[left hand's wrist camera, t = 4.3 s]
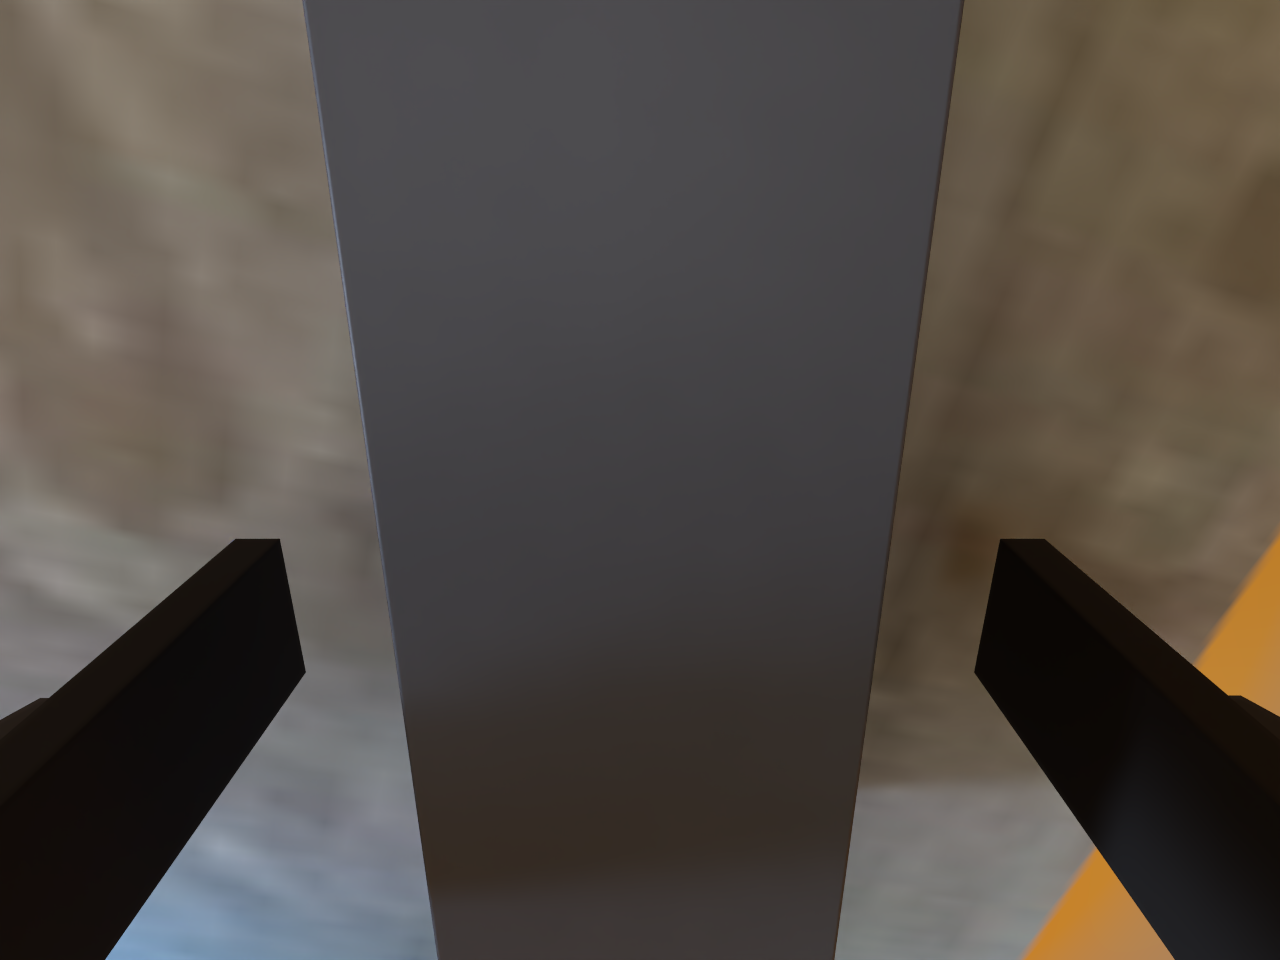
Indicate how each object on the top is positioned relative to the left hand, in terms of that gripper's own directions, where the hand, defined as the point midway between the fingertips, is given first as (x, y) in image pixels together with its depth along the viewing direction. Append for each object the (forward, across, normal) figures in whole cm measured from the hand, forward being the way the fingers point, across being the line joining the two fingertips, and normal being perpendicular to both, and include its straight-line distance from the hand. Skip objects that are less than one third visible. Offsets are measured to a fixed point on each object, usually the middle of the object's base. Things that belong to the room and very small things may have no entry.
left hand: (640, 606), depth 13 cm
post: (+2, 0, -20) cm, 21 cm away
